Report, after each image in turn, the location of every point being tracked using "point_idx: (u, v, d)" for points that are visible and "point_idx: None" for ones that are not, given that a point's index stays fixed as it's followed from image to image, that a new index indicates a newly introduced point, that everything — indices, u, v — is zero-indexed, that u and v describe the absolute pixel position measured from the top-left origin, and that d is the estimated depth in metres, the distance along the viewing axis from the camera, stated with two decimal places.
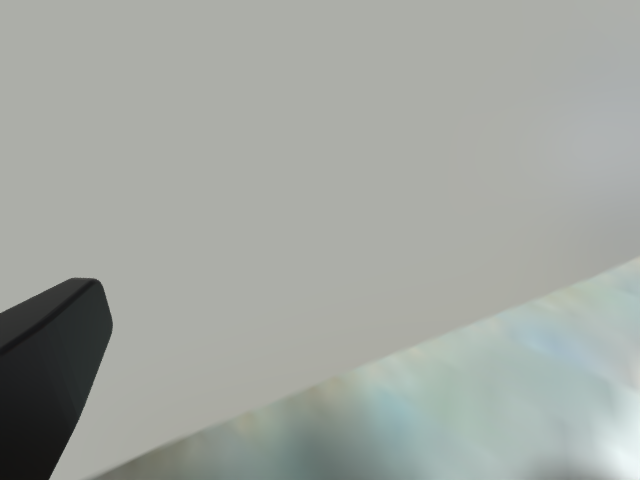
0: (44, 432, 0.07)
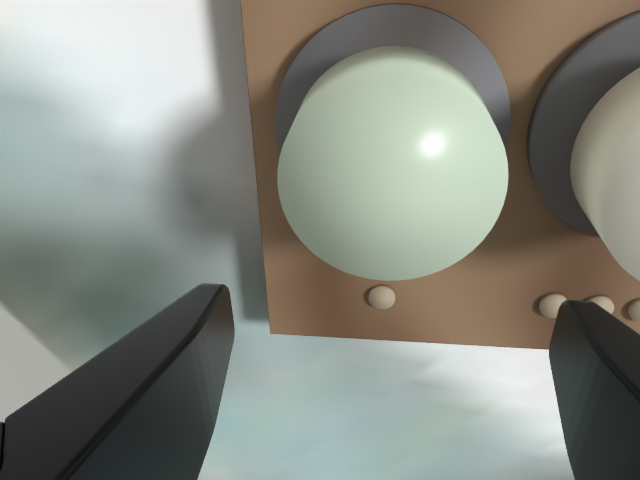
0: (192, 443, 0.07)
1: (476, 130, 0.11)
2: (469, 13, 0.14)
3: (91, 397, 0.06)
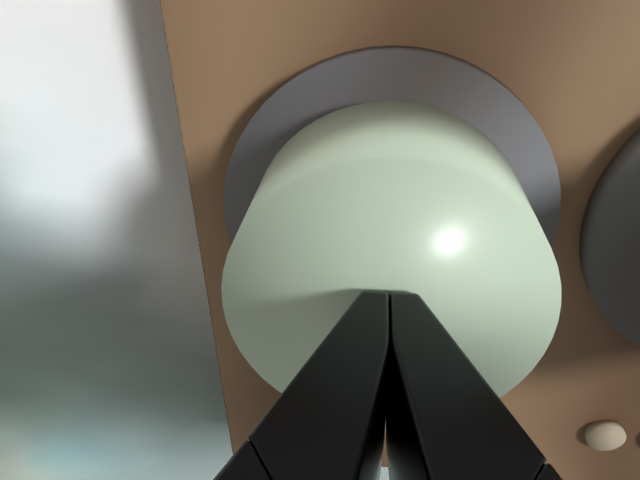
0: (379, 458, 0.07)
1: (515, 242, 0.07)
2: (503, 61, 0.09)
3: (325, 413, 0.05)
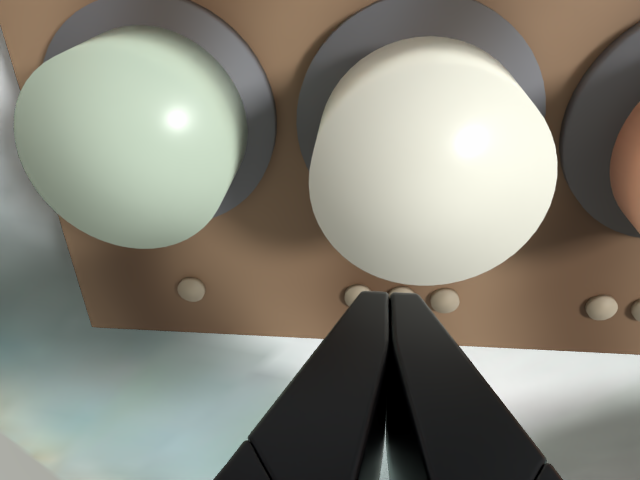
0: (379, 458, 0.07)
1: (183, 103, 0.12)
2: (217, 1, 0.13)
3: (326, 413, 0.05)
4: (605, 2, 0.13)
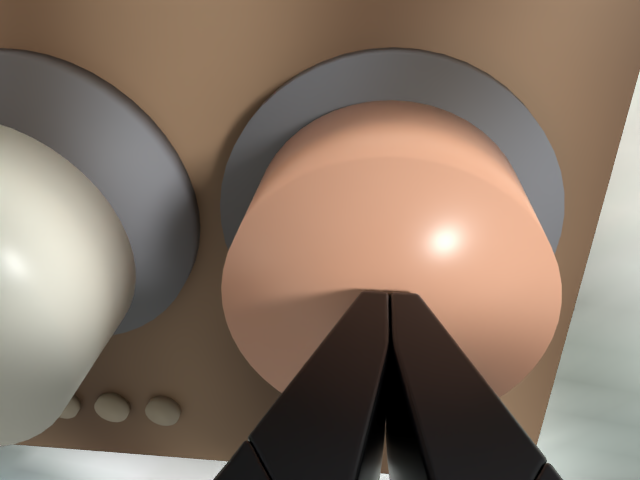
0: (379, 458, 0.07)
1: None
2: None
3: (325, 413, 0.05)
4: (230, 62, 0.10)
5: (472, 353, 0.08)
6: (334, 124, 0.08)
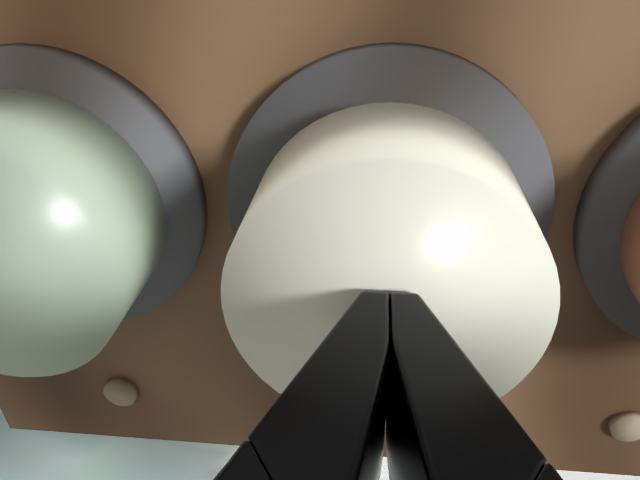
0: (379, 458, 0.07)
1: (47, 206, 0.09)
2: (117, 57, 0.10)
3: (326, 413, 0.05)
4: (636, 57, 0.09)
5: None
6: None
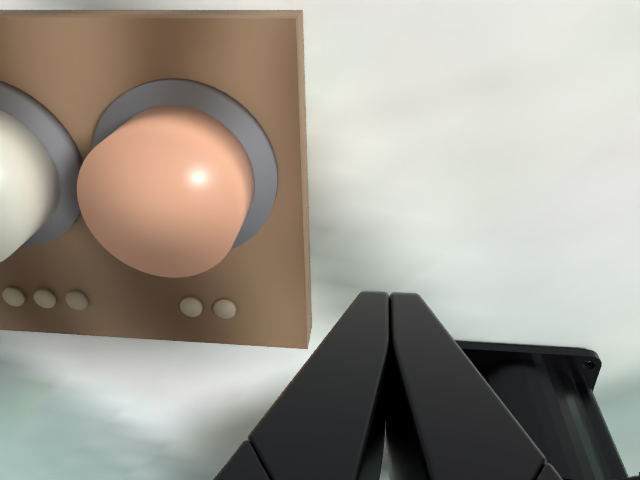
0: (379, 458, 0.07)
1: None
2: None
3: (326, 413, 0.05)
4: (92, 84, 0.18)
5: (204, 232, 0.17)
6: (136, 117, 0.17)
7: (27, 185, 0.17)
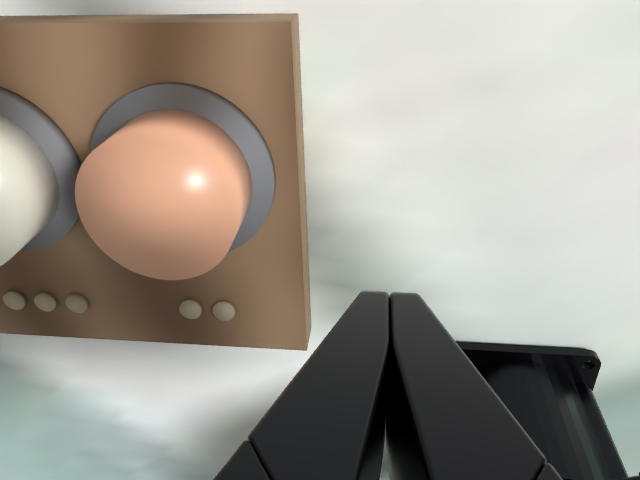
0: (379, 458, 0.07)
1: None
2: None
3: (326, 413, 0.05)
4: (90, 89, 0.18)
5: (201, 235, 0.17)
6: (133, 121, 0.17)
7: (26, 189, 0.18)
